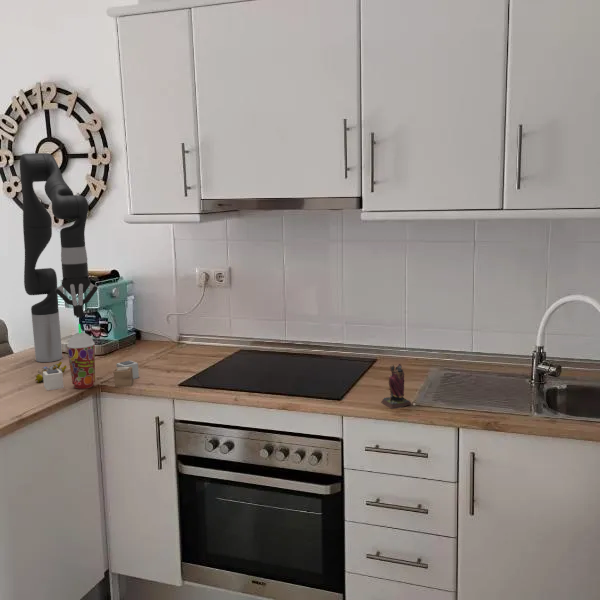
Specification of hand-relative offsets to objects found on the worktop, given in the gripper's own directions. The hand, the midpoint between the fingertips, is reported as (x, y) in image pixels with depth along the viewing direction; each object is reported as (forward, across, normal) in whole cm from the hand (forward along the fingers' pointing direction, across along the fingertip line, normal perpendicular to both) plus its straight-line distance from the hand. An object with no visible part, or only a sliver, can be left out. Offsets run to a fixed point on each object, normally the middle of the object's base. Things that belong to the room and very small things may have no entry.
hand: (78, 317), depth 216 cm
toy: (+23, +10, -16) cm, 29 cm away
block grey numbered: (+22, -14, -4) cm, 27 cm away
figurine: (+22, -81, +55) cm, 100 cm away
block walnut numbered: (+22, -12, +3) cm, 26 cm away
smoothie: (+22, 0, 0) cm, 22 cm away
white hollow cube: (+22, +9, -3) cm, 24 cm away
